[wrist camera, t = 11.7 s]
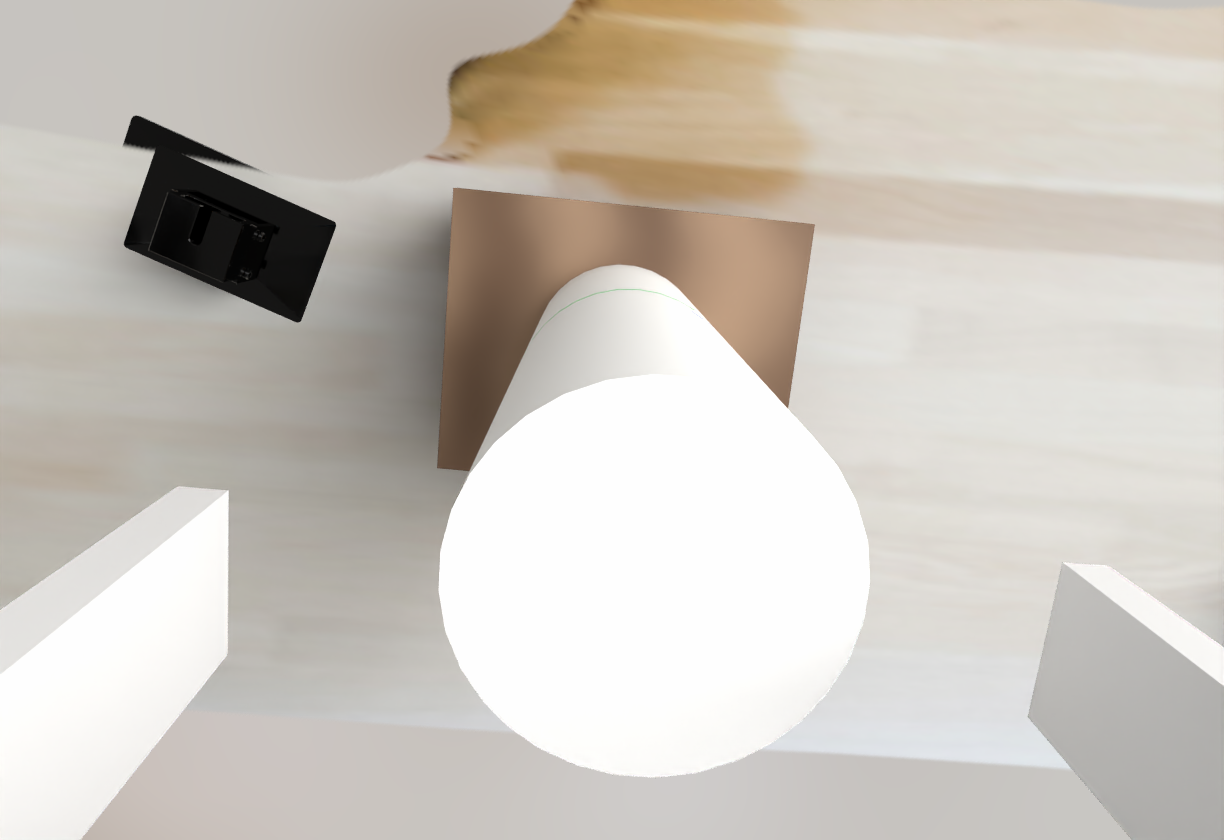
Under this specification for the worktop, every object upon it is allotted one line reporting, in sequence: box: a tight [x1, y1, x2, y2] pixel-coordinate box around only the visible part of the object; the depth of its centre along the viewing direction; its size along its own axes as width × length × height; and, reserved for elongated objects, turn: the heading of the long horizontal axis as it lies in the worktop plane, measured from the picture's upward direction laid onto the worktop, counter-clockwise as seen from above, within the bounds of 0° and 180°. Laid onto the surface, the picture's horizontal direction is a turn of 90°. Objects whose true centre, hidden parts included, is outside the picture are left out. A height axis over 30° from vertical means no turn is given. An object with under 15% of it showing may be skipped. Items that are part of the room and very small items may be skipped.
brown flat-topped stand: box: [437, 188, 815, 471], centre depth 44 cm, size 15×12×8 cm
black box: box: [123, 115, 336, 322], centre depth 45 cm, size 12×7×5 cm, turn 65°
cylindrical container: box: [439, 265, 870, 777], centre depth 28 cm, size 7×7×25 cm
